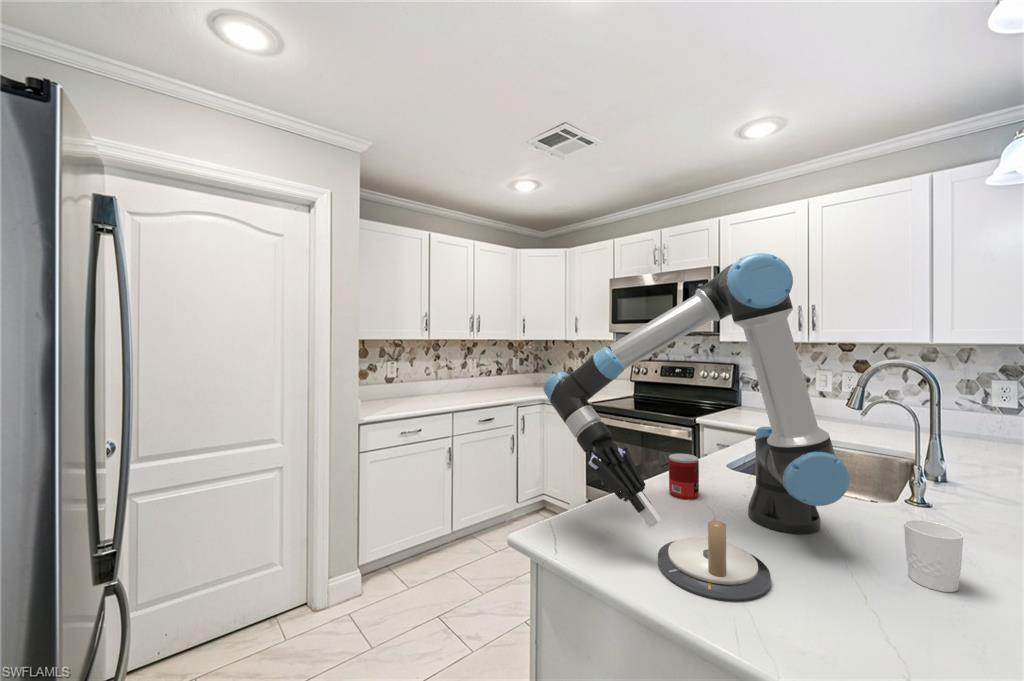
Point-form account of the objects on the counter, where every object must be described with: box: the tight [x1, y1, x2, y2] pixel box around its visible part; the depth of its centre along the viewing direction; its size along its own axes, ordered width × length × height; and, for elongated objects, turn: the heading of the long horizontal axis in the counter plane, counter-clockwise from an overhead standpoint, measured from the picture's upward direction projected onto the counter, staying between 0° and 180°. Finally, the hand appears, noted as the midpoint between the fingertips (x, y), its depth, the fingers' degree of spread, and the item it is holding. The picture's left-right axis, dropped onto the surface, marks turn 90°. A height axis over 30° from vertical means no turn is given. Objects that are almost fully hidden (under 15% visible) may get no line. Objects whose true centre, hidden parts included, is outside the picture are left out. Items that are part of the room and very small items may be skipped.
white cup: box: [903, 519, 964, 593], centre depth 81 cm, size 8×8×10 cm
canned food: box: [668, 453, 700, 500], centre depth 126 cm, size 8×8×11 cm
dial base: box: [657, 540, 772, 603], centre depth 86 cm, size 20×20×2 cm
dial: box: [668, 519, 758, 585], centre depth 86 cm, size 16×16×10 cm
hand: (655, 523), depth 89 cm, fingers closed
